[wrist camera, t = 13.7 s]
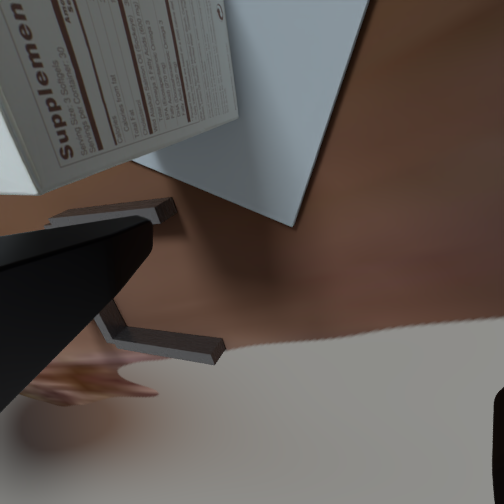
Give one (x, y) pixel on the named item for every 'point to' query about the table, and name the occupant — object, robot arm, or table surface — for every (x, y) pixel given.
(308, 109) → the mat
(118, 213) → the cradle
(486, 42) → the table surface
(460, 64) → the table surface
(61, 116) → the supplement box
